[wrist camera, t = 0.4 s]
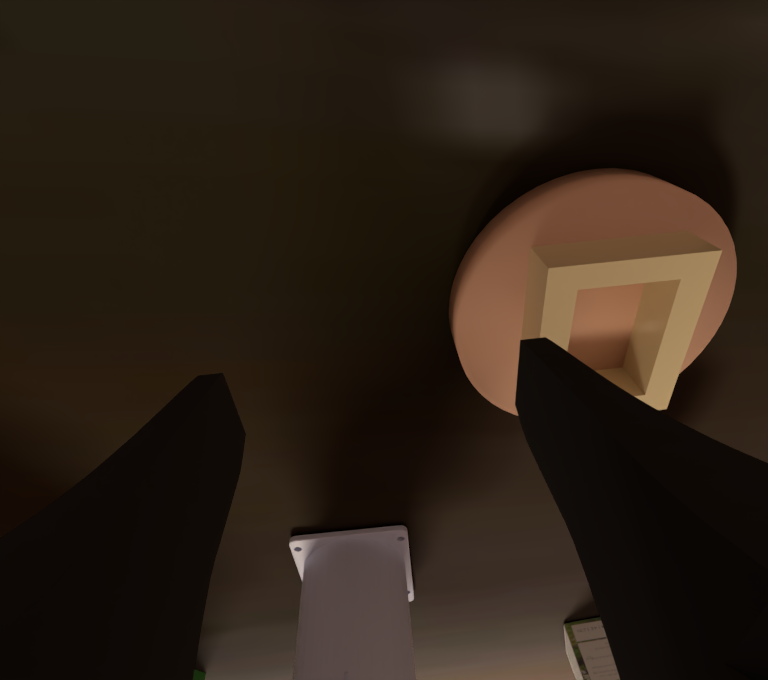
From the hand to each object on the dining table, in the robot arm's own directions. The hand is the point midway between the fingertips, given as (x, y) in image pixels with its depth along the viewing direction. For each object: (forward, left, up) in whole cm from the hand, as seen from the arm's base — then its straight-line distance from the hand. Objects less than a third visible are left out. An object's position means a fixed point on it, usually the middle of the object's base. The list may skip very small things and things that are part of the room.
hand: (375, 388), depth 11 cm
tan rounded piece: (-4, -10, -10) cm, 14 cm away
